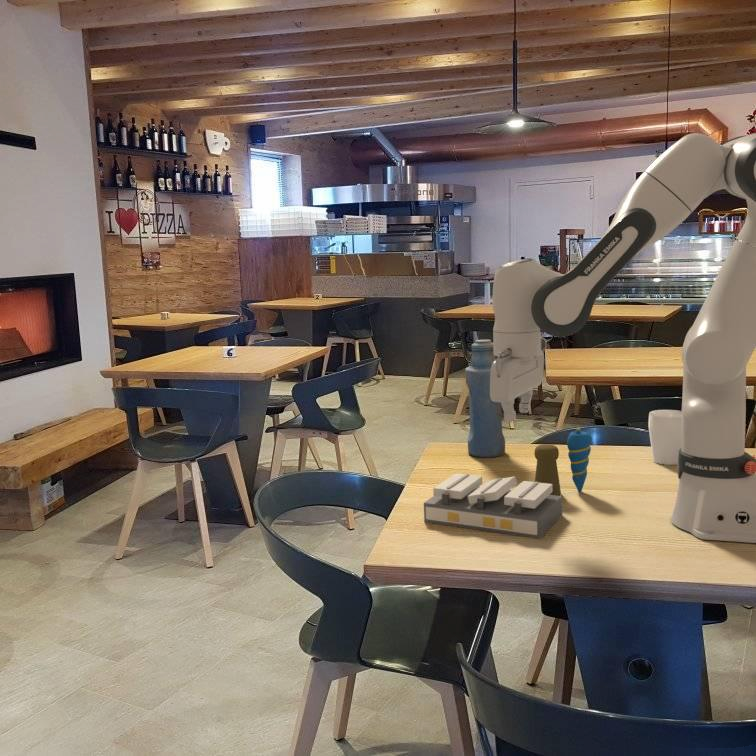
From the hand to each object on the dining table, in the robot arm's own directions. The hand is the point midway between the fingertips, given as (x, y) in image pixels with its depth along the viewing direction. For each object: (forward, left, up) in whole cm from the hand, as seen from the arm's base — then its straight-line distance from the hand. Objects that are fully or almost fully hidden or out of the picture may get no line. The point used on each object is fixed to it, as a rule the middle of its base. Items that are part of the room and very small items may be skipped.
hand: (517, 416), depth 154 cm
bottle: (+25, -46, -22) cm, 57 cm away
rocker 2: (-2, 0, -15) cm, 15 cm away
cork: (0, -19, -22) cm, 29 cm away
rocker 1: (+5, 0, -15) cm, 16 cm away
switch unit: (+5, 0, -21) cm, 22 cm away
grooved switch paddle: (+13, 0, -15) cm, 20 cm away
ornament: (-6, -23, -22) cm, 32 cm away
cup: (-19, -54, -22) cm, 61 cm away
